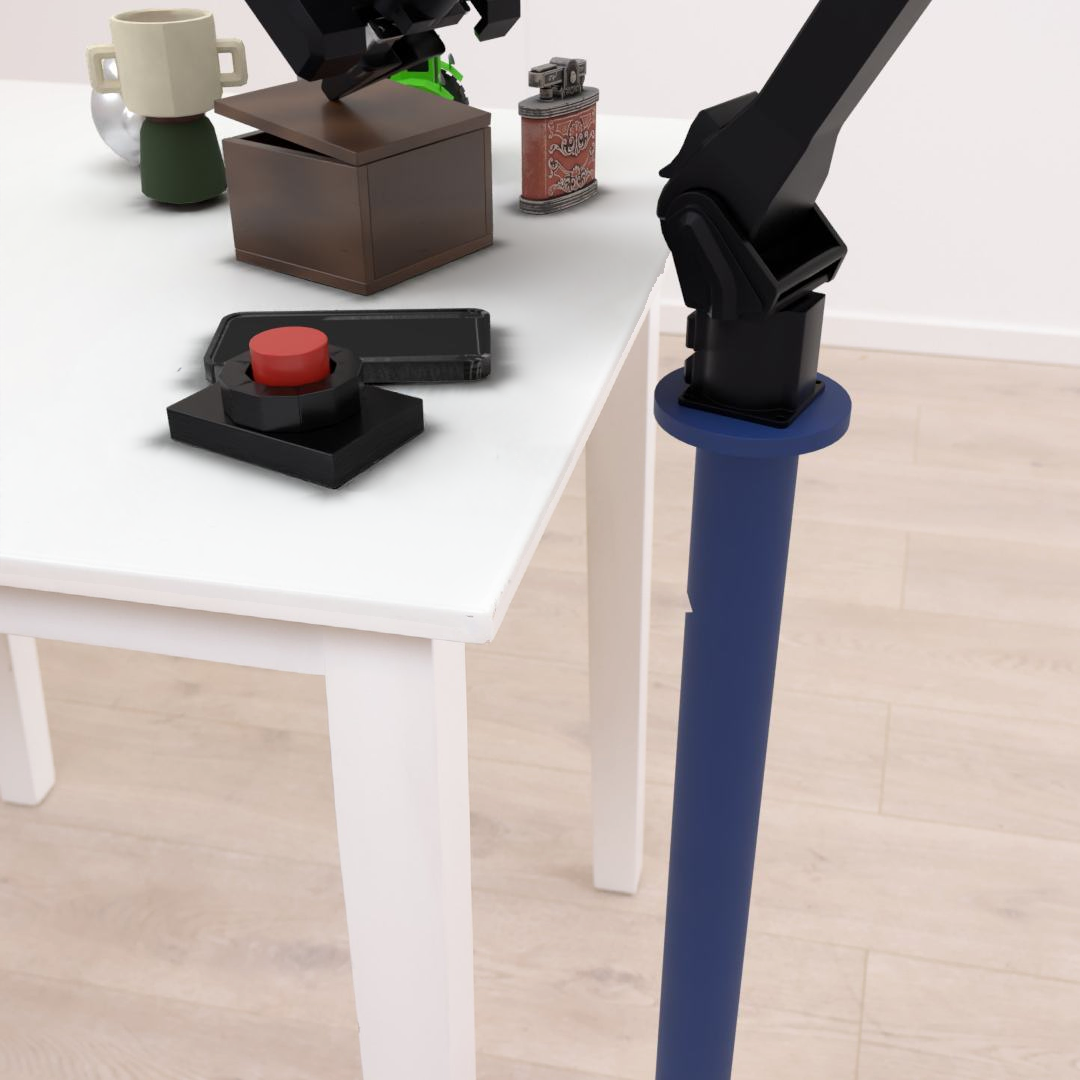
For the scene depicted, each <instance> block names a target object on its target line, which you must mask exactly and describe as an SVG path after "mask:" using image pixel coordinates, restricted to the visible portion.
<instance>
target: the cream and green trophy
mask: <svg viewBox="0 0 1080 1080" xmlns="http://www.w3.org/2000/svg"><path fill="white" fill-rule="evenodd" d="M108 21H109V22H108V23H109V30H110V37H111V42H112V43H99V44H92V45H89V46H87V47H86V49H85V58H86V64H87V70H88V77H89V82H90V87H91V88H92V89H93V90H94V92H96V93H100V94H111V93H120V94H121V99H122V100H123V102H124V104H125V105H126V107H127V109H128V110H129V112H132V113H135V114H139V115H142V116H145V117H146V119H145V120H144V121H143V123H142V126H141V129H140V165H139V171H140V186H141V192H142V194H143V195H144V196H145V197H146V198H150V199H152V200H154V201H158V202H162V203H169V204H176V205H181V204H182V205H183V204H194V203H200V202H203V201H207V200H209V199H213V198H216V197H217V196H219V195H221V194H222V193H224V192H226V191H227V190H228V188H227V180H226V172H225V164H224V157H223V153H222V150H221V148H220V144H219V140H218V135H217V133H216V128H215V126H214V124H213V122H212V121H211V120H210V118H209V117H208V116H207V115H206V116H205V112H206V113H208V112H210V111H212V110H214V100H217V99H221V98H223V93H224V91H223V90H224V89H223V88H237V87H242V86H245V85H247V84H248V79H249V73H248V72H249V71H248V63H247V56H246V47H245V44H244V42H243V40H242V39H240V38H236V37H229V38H217V33H216V24H215V18H214V13H212V12H211V11H209V10H206V9H200V8H190V7H152V8H150V7H149V8H140V9H135V10H128V11H127V10H126V11H123V12H119V13H115V14H113V15H111V16H110V17H109V18H108ZM219 54H231V59H232V60H231V61H232V68H233V72H223V73H221V66H220V56H219ZM110 58H115V62H116V68H117V75H118V79H105V78H104V74H103V62H102V60H104V59H110Z"/></svg>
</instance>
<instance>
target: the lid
mask: <svg viewBox="0 0 1080 1080" xmlns="http://www.w3.org/2000/svg"><path fill="white" fill-rule="evenodd" d="M321 84H322V79H321V80H317V81H313V82H308V81H306V80H305V79H303V80H299V81H297V80H295V81H291V82H286V83H282V84H278V85H273V86H269V87H264V88H260V89H256V90H252V91H247V92H243V93H239V94H235V95H231V96H226V97H222V98H221V99H217V100H214V109H213V112H214V114H217V115H219V116H222V117H224V118H227V119H230V120H232V121H235V122H238V123H241V124H242V125H246V126H249V127H251V128H254V129H256V130H262V131H264V132H267V133H270V134H272V135H275V136H278V137H280V138H283V139H286V140H288V141H291V142H294V143H296V144H299V145H301V146H304V147H307V148H309V149H312V150H315V151H317V152H320V153H323V154H325V155H328V156H331V157H333V158H336V159H339V160H341V161H344V162H347V163H349V164H352V165H355V166H359V165H362V164H366V163H369V162H372V161H375V160H379V159H382V158H385V157H388V156H392V155H395V154H398V153H401V152H405V151H408V150H411V149H414V148H418V147H421V146H424V145H427V144H430V143H434V142H437V141H440V140H443V139H447V138H450V137H453V136H456V135H460V134H463V133H466V132H469V131H473V130H476V129H479V128H482V127H486V126H491V123H492V112H489V111H487V110H483V109H481V108H477V107H474V106H472V105H470V104H469V105H466V104H463V103H460V102H456V101H453V100H450V99H447V98H444V97H441V96H438V95H435V94H432V93H429V92H426V91H423V90H420V89H417V88H414V87H411V86H408V85H405V84H402V83H399V82H396V81H393V80H390V79H387V78H386V79H383V80H381V81H379V82H376V83H374V84H372V85H370V86H367V87H365V88H363V89H361V90H359V91H356V92H354V93H352V94H350V95H347V96H345V97H343V98H341V99H338V100H334V101H329V100H328V98H327V97H326V95H325V94H324V93H323V91H322V89H321Z"/></svg>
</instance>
